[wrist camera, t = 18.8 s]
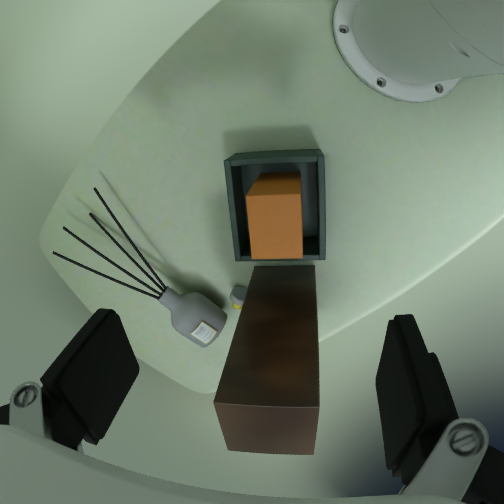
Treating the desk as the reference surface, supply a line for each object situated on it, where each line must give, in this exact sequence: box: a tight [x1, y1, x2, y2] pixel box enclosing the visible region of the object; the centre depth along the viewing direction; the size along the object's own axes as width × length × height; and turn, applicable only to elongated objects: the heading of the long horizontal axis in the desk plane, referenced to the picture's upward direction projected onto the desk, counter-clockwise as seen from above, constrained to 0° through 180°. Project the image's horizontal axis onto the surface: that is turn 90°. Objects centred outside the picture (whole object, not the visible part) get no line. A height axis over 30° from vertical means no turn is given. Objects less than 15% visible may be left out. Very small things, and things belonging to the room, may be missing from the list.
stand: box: [214, 265, 320, 455], centre depth 25 cm, size 6×6×17 cm
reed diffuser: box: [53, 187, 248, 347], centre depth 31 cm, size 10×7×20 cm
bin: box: [224, 149, 326, 261], centre depth 26 cm, size 8×8×4 cm
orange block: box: [246, 171, 303, 259], centre depth 24 cm, size 4×4×8 cm
